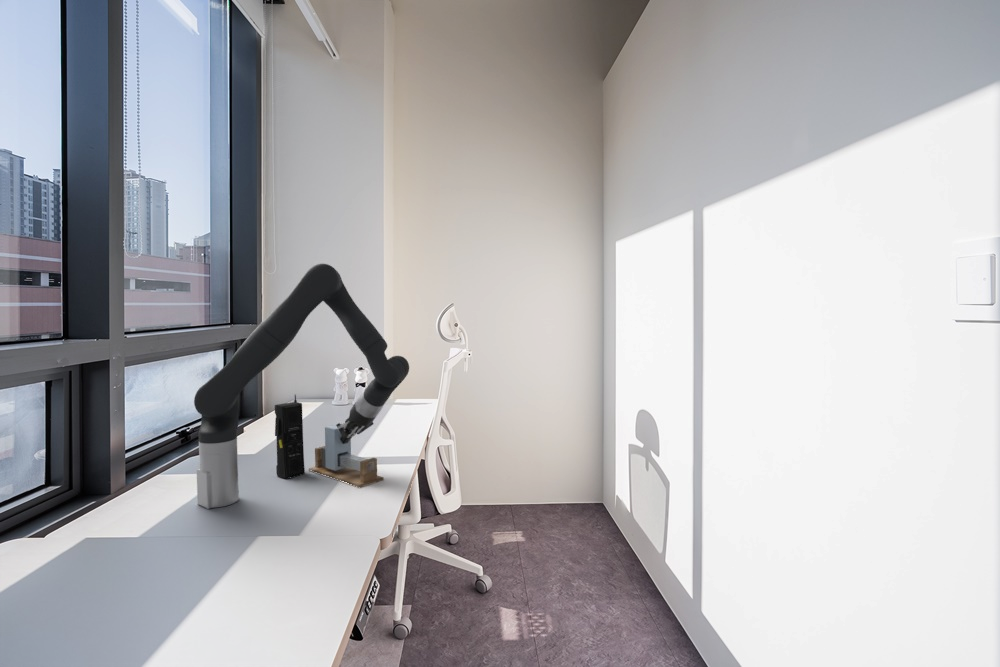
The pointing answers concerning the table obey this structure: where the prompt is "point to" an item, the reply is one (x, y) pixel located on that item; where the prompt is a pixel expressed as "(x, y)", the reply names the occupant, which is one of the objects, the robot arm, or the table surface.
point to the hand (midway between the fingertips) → (343, 441)
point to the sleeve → (334, 447)
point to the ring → (323, 457)
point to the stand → (349, 471)
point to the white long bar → (351, 461)
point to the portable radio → (289, 439)
